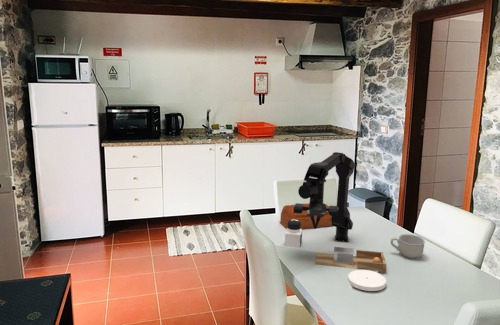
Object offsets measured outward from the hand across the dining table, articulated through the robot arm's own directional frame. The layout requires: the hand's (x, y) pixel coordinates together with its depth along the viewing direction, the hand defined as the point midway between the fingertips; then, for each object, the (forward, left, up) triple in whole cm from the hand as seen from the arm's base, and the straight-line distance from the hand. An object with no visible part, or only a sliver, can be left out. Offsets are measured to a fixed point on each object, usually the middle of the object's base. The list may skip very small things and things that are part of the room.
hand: (315, 228), depth 178 cm
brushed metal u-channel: (+4, +8, -9) cm, 13 cm away
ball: (+4, +26, -10) cm, 28 cm away
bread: (-41, -6, -13) cm, 43 cm away
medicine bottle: (-10, -10, -13) cm, 19 cm away
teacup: (-11, +40, -13) cm, 43 cm away
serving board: (+4, +15, -13) cm, 20 cm away
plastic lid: (+20, +21, -13) cm, 32 cm away
